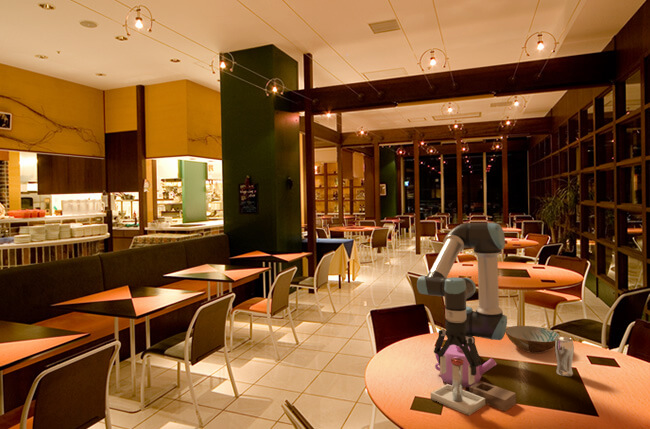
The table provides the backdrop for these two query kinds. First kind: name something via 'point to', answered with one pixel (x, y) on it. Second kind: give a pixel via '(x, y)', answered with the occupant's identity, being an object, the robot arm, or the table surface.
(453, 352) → the teapot
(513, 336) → the bowl
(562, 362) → the beer glass
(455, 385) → the red capped grey tube
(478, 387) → the block
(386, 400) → the table surface
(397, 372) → the table surface
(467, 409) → the tray
